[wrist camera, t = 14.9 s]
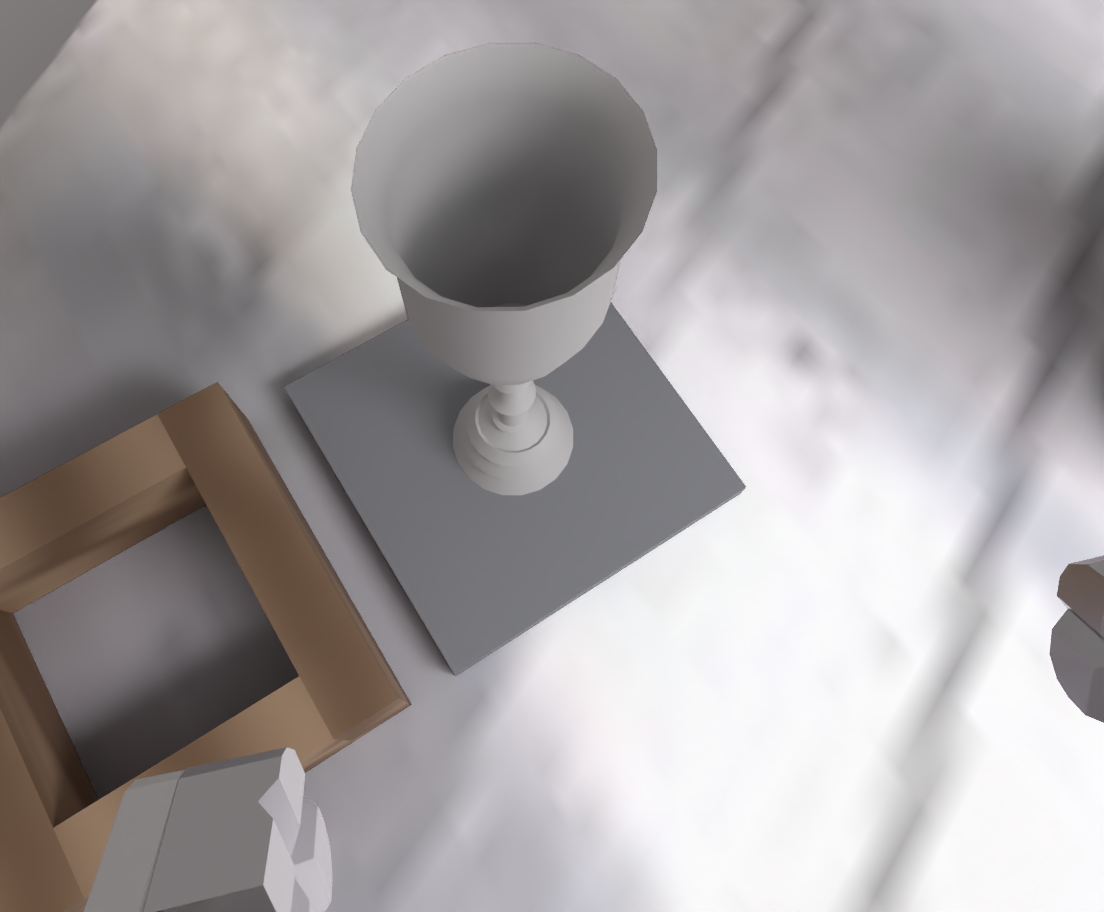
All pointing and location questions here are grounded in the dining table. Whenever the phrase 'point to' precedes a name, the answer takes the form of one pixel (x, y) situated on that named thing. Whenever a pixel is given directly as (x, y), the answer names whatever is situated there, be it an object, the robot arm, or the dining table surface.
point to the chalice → (506, 232)
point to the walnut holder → (108, 529)
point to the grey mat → (510, 520)
